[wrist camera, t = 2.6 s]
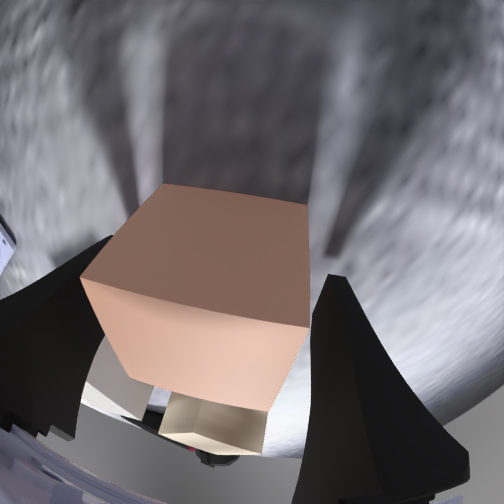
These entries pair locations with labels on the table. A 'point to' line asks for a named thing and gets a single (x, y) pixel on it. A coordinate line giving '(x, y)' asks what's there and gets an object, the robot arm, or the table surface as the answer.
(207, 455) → the microphone
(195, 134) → the table surface
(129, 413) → the white block
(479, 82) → the table surface
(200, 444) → the birch block
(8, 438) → the robot arm
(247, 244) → the peach block
